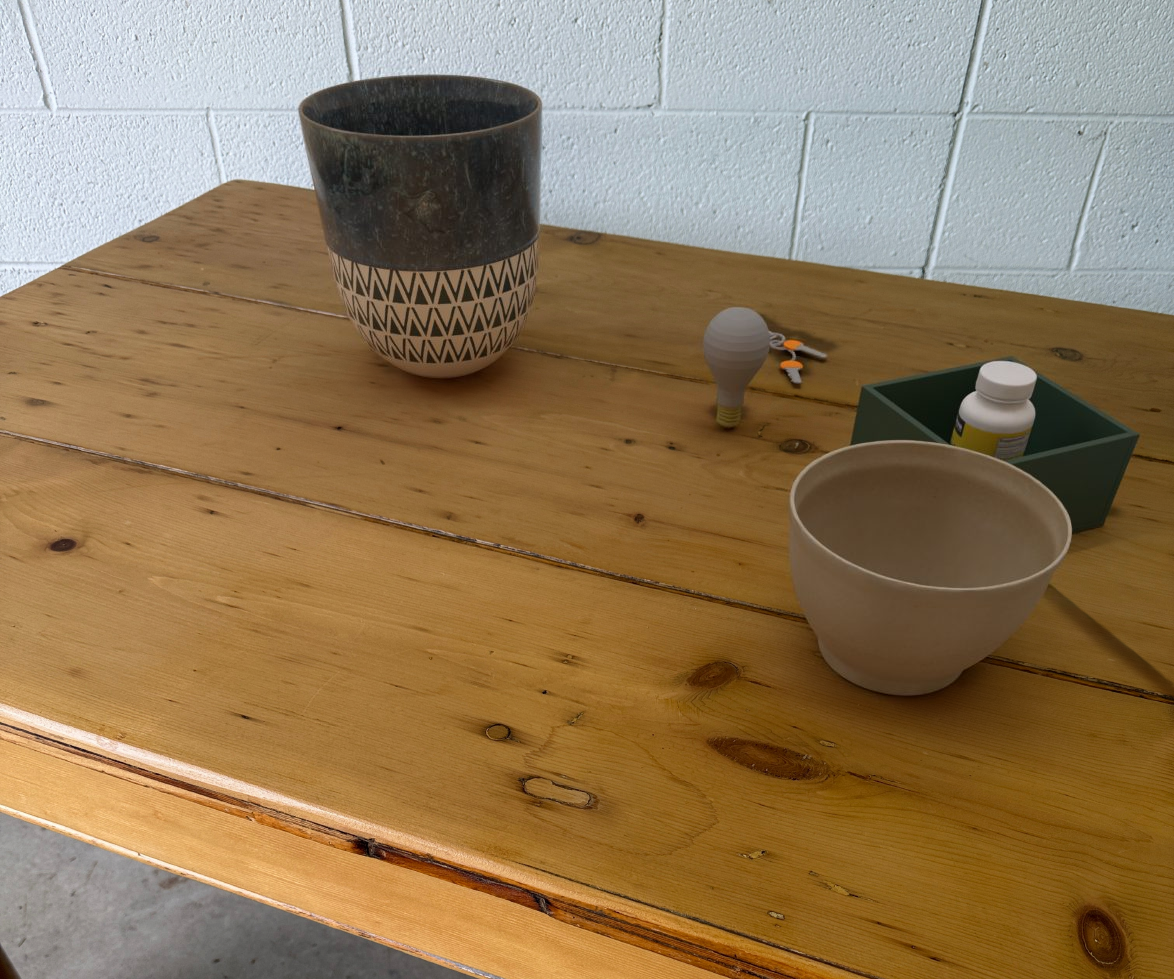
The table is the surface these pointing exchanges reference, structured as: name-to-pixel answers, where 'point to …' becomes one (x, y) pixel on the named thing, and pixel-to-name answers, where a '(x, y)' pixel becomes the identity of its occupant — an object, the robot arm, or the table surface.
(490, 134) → the planter
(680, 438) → the table surface
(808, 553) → the planter bowl
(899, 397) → the bin
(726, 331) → the light bulb
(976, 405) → the supplement bottle
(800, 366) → the key chain
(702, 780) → the table surface
